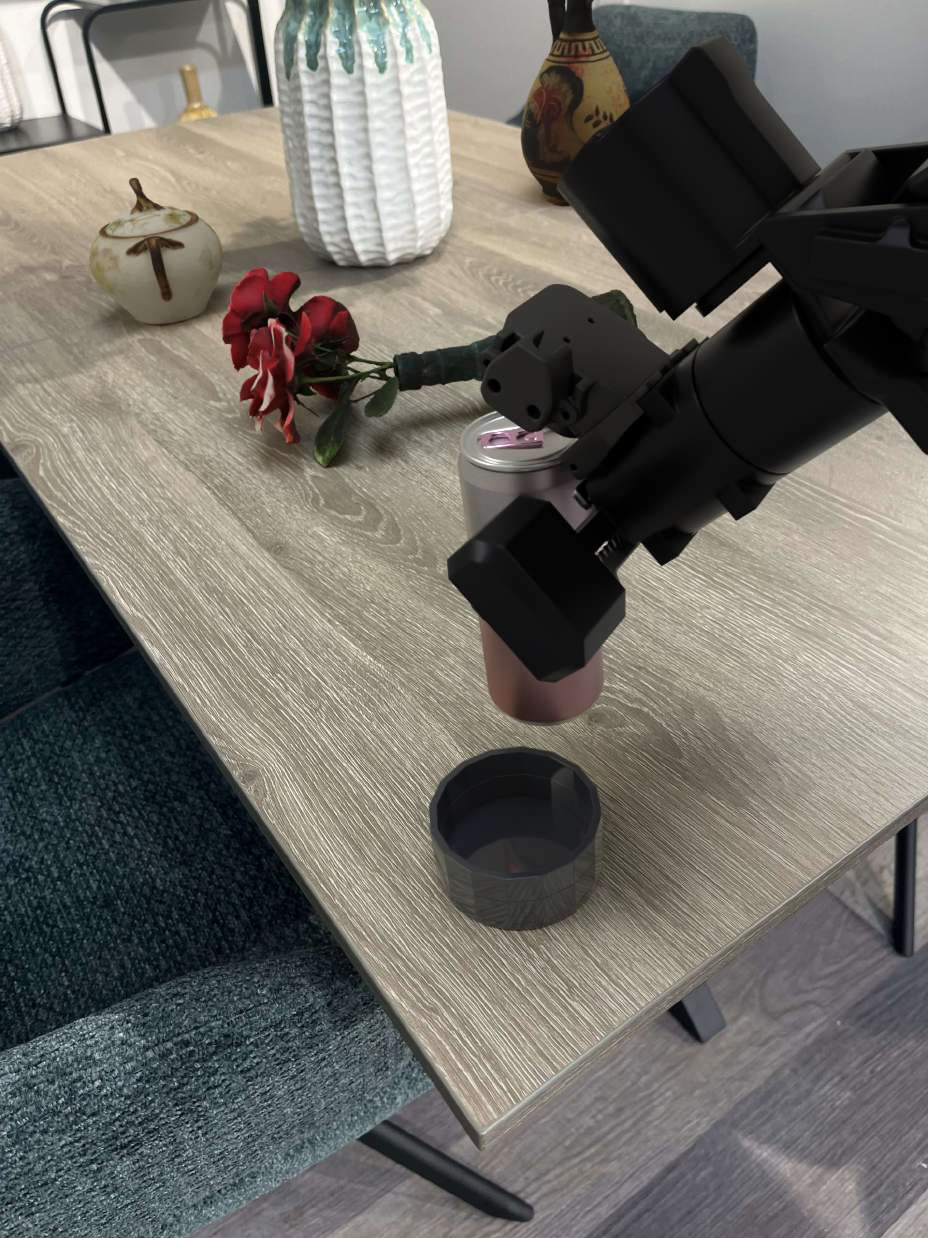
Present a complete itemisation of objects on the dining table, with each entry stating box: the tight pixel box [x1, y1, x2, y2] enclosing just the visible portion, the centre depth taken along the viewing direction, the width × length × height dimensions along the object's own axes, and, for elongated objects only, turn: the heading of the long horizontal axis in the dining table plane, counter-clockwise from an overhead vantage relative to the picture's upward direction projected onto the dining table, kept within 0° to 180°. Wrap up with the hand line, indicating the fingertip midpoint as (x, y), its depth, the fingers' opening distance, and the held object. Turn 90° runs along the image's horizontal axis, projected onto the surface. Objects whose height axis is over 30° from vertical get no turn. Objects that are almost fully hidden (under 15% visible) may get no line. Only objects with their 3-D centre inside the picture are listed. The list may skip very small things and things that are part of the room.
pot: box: [428, 745, 604, 931], centre depth 51 cm, size 8×8×4 cm
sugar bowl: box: [88, 177, 224, 325], centre depth 115 cm, size 20×15×15 cm
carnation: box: [221, 267, 639, 468], centre depth 90 cm, size 16×18×35 cm
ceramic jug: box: [520, 0, 632, 206], centre depth 134 cm, size 17×15×30 cm
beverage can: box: [457, 410, 605, 728], centre depth 48 cm, size 6×6×15 cm
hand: (513, 576), depth 49 cm, fingers closed on beverage can, 6 cm apart
